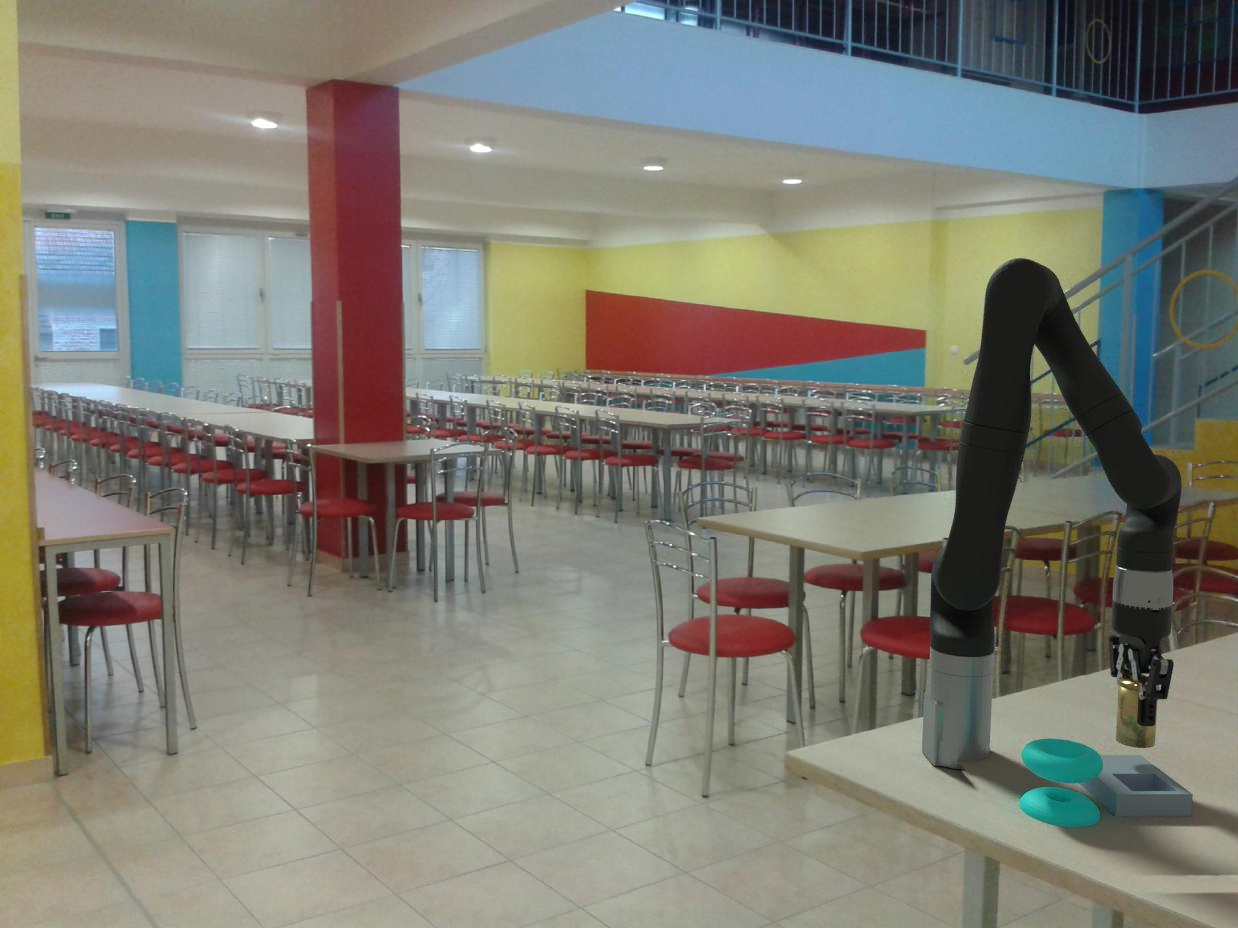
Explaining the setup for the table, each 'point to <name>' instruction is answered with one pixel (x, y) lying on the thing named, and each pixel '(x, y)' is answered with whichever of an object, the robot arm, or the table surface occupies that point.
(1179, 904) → the table surface
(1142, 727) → the gold battery
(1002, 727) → the table surface
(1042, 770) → the donuts
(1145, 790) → the housing
